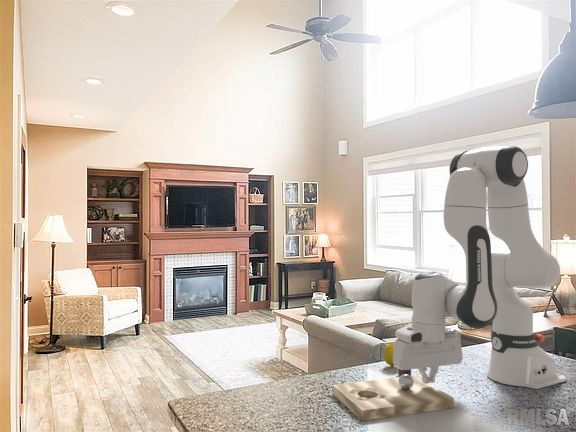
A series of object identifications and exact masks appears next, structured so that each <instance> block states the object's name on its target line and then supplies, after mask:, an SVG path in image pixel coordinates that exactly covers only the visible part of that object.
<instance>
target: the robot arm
mask: <svg viewBox="0 0 576 432" xmlns="http://www.w3.org/2000/svg"><path fill="white" fill-rule="evenodd" d="M528 169H529V160H528V157H527V154H526V153H525V152H524V150H523V149H522V148H520V146H519V147H518V146H513V145H504V146H489V147H488V146H487V147H482V148H477V149H473V150H470V151H469V150H465V151H462V152H459V153H457V154H455V155H454V156H453V158H452V160H451V161H450V165H449V175H450V176H449V179H448V182H447V187H446V192H445V196H444V204H443V224H444V230H445V231H446V233H448V235H449V236H450V237H451V238H452V239H454V240H455V241H456V242H457V243H458V244H459V245H460V246H461V248H462V249H463V252H464V255H465V277H466V278H465V282H466V284H462V283H459V282H456V281H454V280H452V279H450V278H448V277H447V276H445V275H443V273H441V272H440V271H426V272H422V273H419V274H417V275H416V276H415V277H414V279H413V281H412V287H411V289H412V290H411V307H412V316H411V323H409V324H407V325H405V326H403V327H400V328H399V329H396V331H394V333H395V334H394V335H395V338H397V339H396V340H395V342H393V343H394V348H393V364H394V367H395V368H396V369H400V370H408V369H411V370H414V369H415V370H418V371H419V373H420V375H421V379H422V382H423V383H429V384H431V383H435V381H436V375H437V373H438V371H439V367H441V366H452V365H459V364H462V361H463V348H462V342H461V339H462V337H461V333H460V332H459V331H458V330H456V329H451V330H450V329H446V319H447V318H452V319H454V320H456V321H459V322H461V323H463V324H464V325H466V326H467V327H469V328H472V329H476V330H478V329H479V330H480V329H483V328H485V327H488V326H489V325H490V324H491V323H492V329H491V330H490V343H491V352H490V358H489V359H490V360H489V365H488V370H487V373H486V376H487V377H488V378H489V379H490V380H492V381H494V382H497V383H500V384H504V385H508V386H516V387H525V388H529V389H532V390H533V389H534V390H539V389H543V388H547V387H549V386H550V387H551V386H553V385H557V384H560V383H563V382H566V381H567V379H566V376H564V375H563V374H562V373H559V372H557V371H558V370H557V365H556V364H557V363H556V360H555V359H554V357H552V356H551V355H550V354H549V353H548V352H546V351H545V350H544V349H543V348H541V347H540V346H539V344H538V341H539V342H541V343H543V342H544V341H545V336H544V335H543V334H540V333H536V334H535V333H534V310H533V309H532V306H531V305H530V304H529V303H528V302H527V301H526V300H525V299H524V298H521V297H520V296H519V295H518V294H517V292H516V290H515V288H514V287H517V288H527V289H544V288H551V287H553V286H554V285H555V284H557V282H558V281H559V279H560V275H561V266H560V264H559V261H558V260H557V258H556V257H555V256H554V255H553V254H551V253H550V252H548V251H547V250H546V249H545V248H543V246H542V245H541V244H540V243H539V241H538V240H537V239H536V237H535V235H534V233H533V230H532V226H531V219H530V213H529V201H528V193H527V188H526V187H527V186H526V183H525V179H524V178H525V177H526V175H527V173H528ZM487 216H488V217H487ZM487 218H488V227H487ZM488 228H489V230H490V232H491V234H492V235H493V236H494V237H496V238H497V239H500V240H501V241H502V242H503V243H505V245H506V246H507V248H508V249H499V248H498V249H496V248H495V249H494V248H492V245H491V237H490V234H489V232H488ZM428 368H430V370H429V373H428V374H427V371H428Z"/></svg>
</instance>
